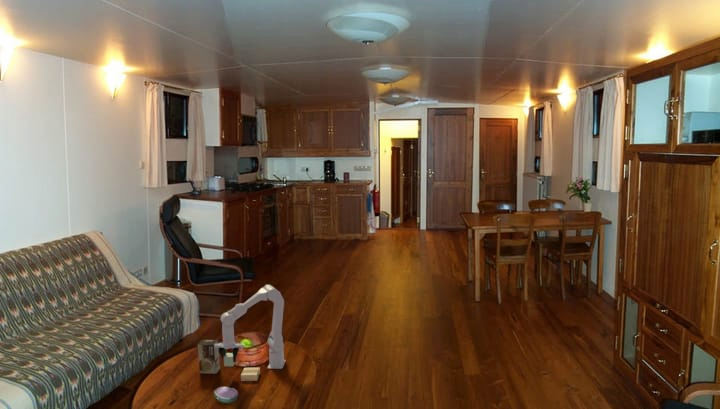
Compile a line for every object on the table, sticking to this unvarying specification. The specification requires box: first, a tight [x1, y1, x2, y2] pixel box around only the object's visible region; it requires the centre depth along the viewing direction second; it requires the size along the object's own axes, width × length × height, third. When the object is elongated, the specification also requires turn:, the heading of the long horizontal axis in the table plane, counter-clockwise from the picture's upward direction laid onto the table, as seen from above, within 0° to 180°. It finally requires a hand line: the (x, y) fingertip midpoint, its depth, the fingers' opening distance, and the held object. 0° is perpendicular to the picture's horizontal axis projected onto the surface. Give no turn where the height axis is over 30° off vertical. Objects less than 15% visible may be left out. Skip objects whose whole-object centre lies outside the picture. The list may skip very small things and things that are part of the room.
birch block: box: [240, 367, 261, 382], centre depth 256 cm, size 8×8×4 cm
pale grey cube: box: [223, 352, 237, 367], centre depth 256 cm, size 5×5×5 cm
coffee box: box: [197, 339, 221, 375], centre depth 263 cm, size 9×6×16 cm
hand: (229, 361), depth 256 cm, fingers closed on pale grey cube, 5 cm apart
